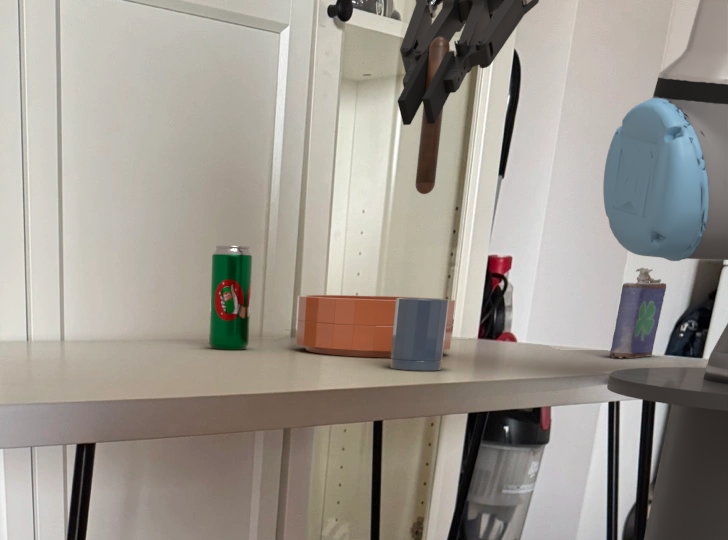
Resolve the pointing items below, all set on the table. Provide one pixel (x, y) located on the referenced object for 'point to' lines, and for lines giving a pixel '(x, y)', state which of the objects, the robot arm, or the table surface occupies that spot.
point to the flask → (638, 316)
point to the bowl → (352, 324)
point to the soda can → (230, 297)
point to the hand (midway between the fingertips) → (416, 111)
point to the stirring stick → (430, 125)
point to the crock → (419, 334)
